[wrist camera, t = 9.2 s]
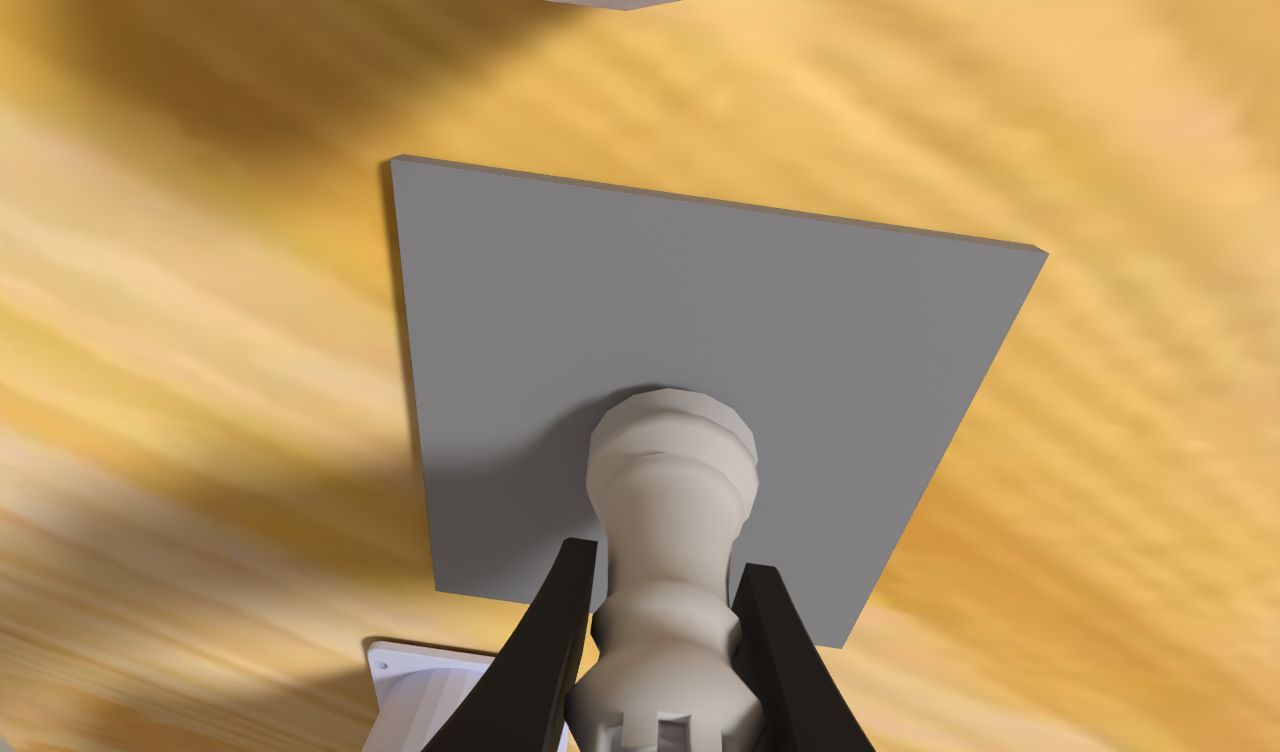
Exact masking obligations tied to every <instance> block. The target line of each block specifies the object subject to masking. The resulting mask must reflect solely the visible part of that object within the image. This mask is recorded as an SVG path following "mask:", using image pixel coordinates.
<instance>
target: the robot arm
mask: <svg viewBox="0 0 1280 752" xmlns="http://www.w3.org/2000/svg"><path fill="white" fill-rule="evenodd" d="M597 546H598V541H593V540H586V539H579V538H572V537H569V538H567V539H565V540H563V543H562V546H561V548H560V551H559V553H558V555H557V557H556V559H555V562H554V564H553V566H552V568H551V570H550V572H549V574H548V575H547V577H546V579H545V581H544V583H543V584H542V586H541V588H540V590H539V592H538V593H537V595H536V597H535V598H534V600H533V602H532V603H531V605H530V606H529V608H528V610H527V611H526V613H525V614H524V616H523V618H522V619H521V621H520V623H519V624H518V626H517V627H516V629H515V630H514V632H513V633H512V635H511V636H510V638H509V639H508V640H507V642H506V643H505V645H504V646H503V648H502V649H501V650H500V652H499V653H498V655H497V656H496V657H491V656H484V655H477V654H470V653H463V652H456V651H449V650H442V649H435V648H428V647H421V646H414V645H407V644H400V643H393V642H386V641H377V642H373V643H372V644H371V646H370V648H369V650H368V652H367V657H368V661H369V666H370V670H371V675H372V679H373V683H374V688H375V692H376V697H377V701H378V706H379V710H380V712H379V714H378V716H377V718H376V721H375V723H374V725H373V727H372V729H371V731H370V734H369V736H368V738H367V740H366V742H365V744H364V747H363V749H362V751H361V752H567V742H568V733H569V727H568V725H567V723H566V721H565V719H564V717H563V711H564V701H565V694H566V693H567V692H568V691H569V690H570V689H571V688H572V687H573V686H574V685H575V681H576V677H577V673H578V669H579V665H580V661H581V657H582V653H583V647H584V641H585V635H586V629H587V622H588V616H589V610H590V604H591V596H592V588H593V579H594V571H595V563H596V554H597ZM731 611H732V612H733V613H734V614H735V615H736V616H737V617H738V618H739V622H740V625H741V629H742V632H743V636H744V637H743V640H742V643H741V645H740V648H739V651H738V653H737V655H736V656H735V658H734V659H733V660H732V669H733V670H734V672H735V673H736V674H737V675H738V676H739V677H740V678H741V680H742V681H743V682H744V683H745V684H746V685H747V687H748V688H749V689H750V690H751V691H752V692H753V694H754V695H755V696H756V697H757V698H758V699H759V700H760V702H761V705H762V709H763V713H764V716H765V720H766V723H767V725H766V727H765V729H764V731H763V733H762V735H761V737H760V740H759V742H758V744H757V746H756V747H755V749H754V750H753V752H876V751H875V749H874V748H873V746H872V744H871V743H870V741H869V740H868V738H867V737H866V735H865V733H864V732H863V730H862V729H861V727H860V725H859V724H858V722H857V720H856V719H855V717H854V715H853V714H852V712H851V710H850V709H849V707H848V705H847V704H846V702H845V700H844V699H843V697H842V695H841V693H840V692H839V690H838V688H837V686H836V685H835V683H834V681H833V679H832V678H831V676H830V674H829V672H828V670H827V668H826V667H825V665H824V663H823V661H822V659H821V657H820V655H819V654H818V652H817V650H816V648H815V646H814V644H813V642H812V640H811V638H810V636H809V634H808V632H807V630H806V628H805V626H804V624H803V622H802V620H801V618H800V616H799V614H798V612H797V610H796V608H795V606H794V604H793V602H792V599H791V597H790V595H789V593H788V591H787V588H786V586H785V584H784V582H783V580H782V577H781V575H780V573H779V571H778V570H777V568H776V567H774V566H767V565H760V564H753V563H746V565H745V568H744V571H743V574H742V577H741V580H740V583H739V586H738V589H737V592H736V595H735V598H734V601H733V604H732V607H731Z"/></svg>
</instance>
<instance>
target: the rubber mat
mask: <svg viewBox="0 0 1280 752" xmlns="http://www.w3.org/2000/svg"><path fill="white" fill-rule="evenodd" d="M390 162H391V171H392V181H393V190H394V200H395V209H396V219H397V228H398V238H399V247H400V256H401V266H402V275H403V285H404V294H405V304H406V313H407V323H408V332H409V342H410V351H411V361H412V370H413V379H414V389H415V398H416V408H417V417H418V427H419V436H420V446H421V455H422V465H423V474H424V484H425V493H426V502H427V512H428V521H429V531H430V540H431V550H432V559H433V569H434V578H435V588H436V591H440V592H447V593H454V594H461V595H468V596H475V597H482V598H489V599H496V600H503V601H510V602H517V603H524V604H531V603H532V602H533V600H534V598H535V597H536V595H537V593H538V592H539V590H540V588H541V586H542V584H543V583H544V581H545V579H546V577H547V575H548V574H549V572H550V570H551V568H552V566H553V564H554V562H555V559H556V557H557V555H558V553H559V551H560V548H561V546H562V543H563V540H565V539H567V538H569V537H572V538H579V539H586V540H593V541H598V546H597V554H596V563H595V571H594V579H593V588H592V596H591V604H590V610H589V613H595V611H596V610H597V609H598V608H599V607H600V606H601V605H602V603H603V602H604V601H605V600H606V597H607V590H608V558H607V536H606V535H605V534H604V531H603V529H602V526H601V524H600V522H599V519H598V517H597V515H596V512H595V510H594V508H593V505H592V503H591V500H590V498H589V496H588V493H587V487H586V476H587V467H588V457H589V450H590V440H591V434H592V433H593V431H594V430H595V428H596V427H597V425H598V424H599V422H600V421H601V419H602V418H603V416H604V415H605V413H606V412H607V411H608V410H610V409H612V408H613V407H615V406H616V405H618V404H620V403H621V402H623V401H625V400H626V399H628V398H629V397H631V396H633V395H635V394H640V393H646V392H651V391H656V390H661V389H666V388H671V389H678V390H684V391H691V392H698V393H704V394H706V395H708V396H710V397H712V398H713V399H715V400H717V401H719V402H721V403H723V404H725V405H726V406H728V407H730V408H732V409H734V410H735V412H736V413H737V414H738V415H739V417H740V418H741V419H742V420H743V422H744V423H745V424H746V425H747V427H748V428H749V429H750V430H751V432H752V433H753V437H754V442H755V447H756V452H757V456H758V462H757V465H756V469H757V474H758V479H759V485H758V489H757V493H756V497H755V500H754V503H753V506H752V509H751V512H750V515H749V518H748V519H747V520H746V521H745V522H744V523H743V525H742V528H741V531H740V534H739V536H738V537H737V538H736V539H735V540H734V541H733V542H732V553H731V565H730V578H729V601H730V610H731V607H732V604H733V601H734V598H735V595H736V592H737V589H738V586H739V583H740V580H741V577H742V574H743V571H744V568H745V565H746V563H753V564H760V565H767V566H774V567H776V568H777V570H778V571H779V573H780V575H781V577H782V580H783V582H784V584H785V586H786V588H787V591H788V593H789V595H790V597H791V599H792V602H793V604H794V606H795V608H796V610H797V612H798V614H799V616H800V618H801V620H802V622H803V624H804V626H805V628H806V630H807V632H808V634H809V636H810V638H811V640H812V642H813V644H814V645H818V646H825V647H832V648H839V649H842V648H843V646H844V644H845V642H846V640H847V638H848V636H849V634H850V632H851V631H852V629H853V627H854V625H855V623H856V621H857V619H858V617H859V615H860V613H861V611H862V610H863V608H864V606H865V604H866V602H867V600H868V598H869V596H870V594H871V592H872V591H873V589H874V587H875V585H876V583H877V581H878V579H879V577H880V575H881V573H882V571H883V570H884V568H885V566H886V564H887V562H888V560H889V558H890V556H891V554H892V552H893V551H894V549H895V547H896V545H897V543H898V541H899V539H900V537H901V535H902V533H903V532H904V530H905V528H906V526H907V524H908V522H909V520H910V518H911V516H912V514H913V512H914V511H915V509H916V507H917V505H918V503H919V501H920V499H921V497H922V495H923V493H924V492H925V490H926V488H927V486H928V484H929V482H930V480H931V478H932V476H933V474H934V472H935V471H936V469H937V467H938V465H939V463H940V461H941V459H942V457H943V455H944V453H945V452H946V450H947V448H948V446H949V444H950V442H951V440H952V438H953V436H954V434H955V432H956V431H957V429H958V427H959V425H960V423H961V421H962V419H963V417H964V415H965V413H966V412H967V410H968V408H969V406H970V404H971V402H972V400H973V398H974V396H975V394H976V392H977V391H978V389H979V387H980V385H981V383H982V381H983V379H984V377H985V375H986V373H987V372H988V370H989V368H990V366H991V364H992V362H993V360H994V358H995V356H996V354H997V353H998V351H999V349H1000V347H1001V345H1002V343H1003V341H1004V339H1005V337H1006V335H1007V333H1008V332H1009V330H1010V328H1011V326H1012V324H1013V322H1014V320H1015V318H1016V316H1017V314H1018V313H1019V311H1020V309H1021V307H1022V305H1023V303H1024V301H1025V299H1026V297H1027V295H1028V293H1029V292H1030V290H1031V288H1032V286H1033V284H1034V282H1035V280H1036V278H1037V276H1038V274H1039V273H1040V271H1041V269H1042V267H1043V265H1044V263H1045V261H1046V259H1047V257H1048V255H1049V253H1047V252H1045V251H1043V250H1042V249H1040V248H1038V247H1036V246H1034V245H1029V244H1022V243H1015V242H1008V241H1001V240H994V239H987V238H980V237H973V236H966V235H960V234H953V233H946V232H939V231H932V230H925V229H918V228H911V227H904V226H897V225H890V224H883V223H876V222H869V221H862V220H855V219H849V218H842V217H835V216H828V215H821V214H814V213H807V212H800V211H793V210H786V209H779V208H772V207H765V206H758V205H751V204H744V203H737V202H731V201H724V200H717V199H710V198H703V197H696V196H689V195H682V194H675V193H668V192H661V191H654V190H647V189H640V188H633V187H626V186H620V185H613V184H606V183H599V182H592V181H585V180H578V179H571V178H564V177H557V176H550V175H543V174H536V173H529V172H522V171H515V170H508V169H502V168H495V167H488V166H481V165H474V164H467V163H460V162H453V161H446V160H439V159H432V158H425V157H418V156H411V155H404V154H402V155H399V156H397V157H394V158H391V159H390Z"/></svg>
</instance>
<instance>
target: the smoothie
mask: <svg viewBox="0 0 1280 752" xmlns="http://www.w3.org/2000/svg"><path fill="white" fill-rule="evenodd" d="M546 1H554V2H561V3H569V4H577V5H584V6H592V7H600V8H608V9H615V10H623V11H627V10H633V9H638V8H643V7H649V6H654V5H659V4H665V3H670V2H675V1H681V0H546Z"/></svg>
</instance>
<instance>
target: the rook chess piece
mask: <svg viewBox="0 0 1280 752" xmlns="http://www.w3.org/2000/svg"><path fill="white" fill-rule="evenodd" d="M757 462H758V456H757V452H756V447H755V442H754V437H753V433H752V432H751V430H750V429H749V428H748V427H747V425H746V424H745V423H744V422H743V420H742V419H741V418H740V417H739V415H738V414H737V413H736V412H735V410H734V409H732V408H730V407H728V406H726V405H725V404H723V403H721V402H719V401H717V400H715V399H713V398H712V397H710V396H708V395H706V394H704V393H698V392H691V391H684V390H678V389H671V388H666V389H661V390H656V391H651V392H646V393H640V394H635V395H633V396H631V397H629V398H628V399H626V400H625V401H623V402H621V403H620V404H618V405H616V406H615V407H613V408H612V409H610V410H608V411H607V412H606V413H605V415H604V416H603V418H602V419H601V421H600V422H599V424H598V425H597V427H596V428H595V430H594V431H593V433H592V434H591V440H590V450H589V457H588V467H587V476H586V487H587V493H588V496H589V498H590V500H591V503H592V505H593V508H594V510H595V512H596V515H597V517H598V519H599V522H600V524H601V526H602V529H603V531H604V534H605V535H606V536H607V558H608V590H607V597H606V600H605V601H604V602H603V603H602V605H601V606H600V607H599V608H598V609H597V610H596V611H595V613H594V614H593V616H592V624H591V632H590V634H591V636H592V638H593V640H594V642H595V644H596V646H597V648H598V650H599V652H600V655H599V659H598V662H597V663H596V664H595V665H594V666H593V667H592V668H591V669H590V670H589V671H588V672H587V673H586V674H585V675H583V677H582V678H581V679H580V680H579V681H578V682H577V683H576V684H575V685H574V686H573V687H572V688H571V689H570V690H569V691H568V692H567V693H566V694H565V701H564V711H563V717H564V719H565V721H566V723H567V725H568V727H569V729H570V731H571V733H572V735H573V737H574V739H575V741H576V743H577V745H578V747H579V749H580V752H753V750H754V749H755V747H756V746H757V744H758V742H759V740H760V737H761V735H762V733H763V731H764V729H765V727H766V725H767V723H766V720H765V716H764V713H763V709H762V705H761V702H760V700H759V699H758V698H757V697H756V696H755V695H754V694H753V692H752V691H751V690H750V689H749V688H748V687H747V685H746V684H745V683H744V682H743V681H742V680H741V678H740V677H739V676H738V675H737V674H736V673H735V672H734V670H733V669H732V660H733V659H734V658H735V656H736V655H737V653H738V651H739V648H740V645H741V643H742V640H743V637H744V636H743V632H742V629H741V625H740V622H739V618H738V617H737V616H736V615H735V614H734V613H733V612H732V611H731V610H730V601H729V578H730V565H731V553H732V542H733V541H734V540H735V539H736V538H737V537H738V536H739V534H740V531H741V528H742V525H743V523H744V522H745V521H746V520H747V519H748V518H749V515H750V512H751V509H752V506H753V503H754V500H755V497H756V493H757V489H758V485H759V479H758V474H757V469H756V465H757Z"/></svg>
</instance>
